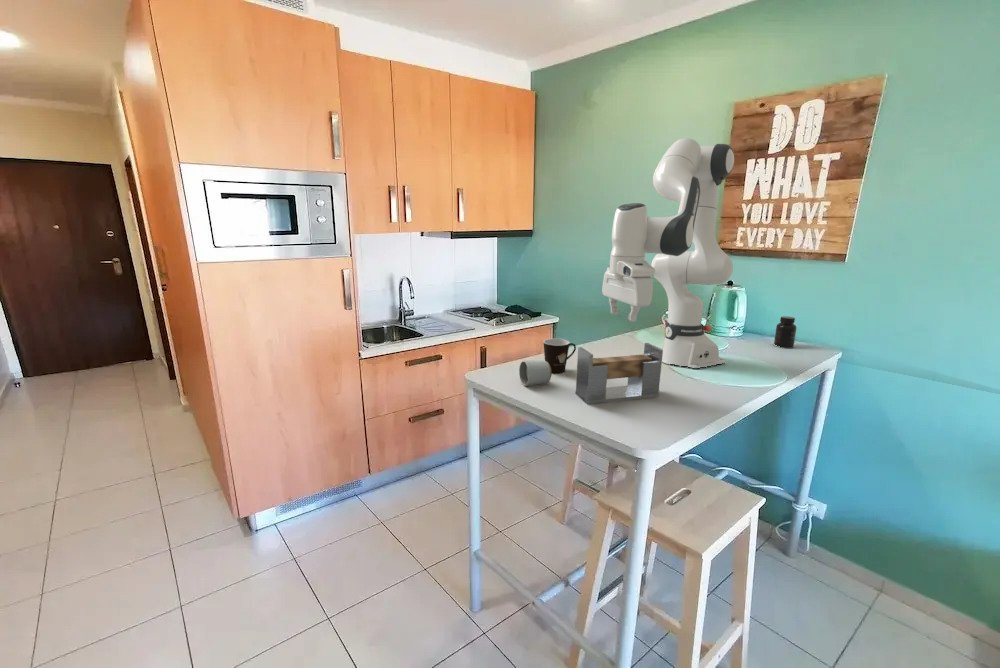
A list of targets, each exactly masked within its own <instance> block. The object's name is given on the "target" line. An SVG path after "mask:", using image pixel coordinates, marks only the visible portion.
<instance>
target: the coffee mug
mask: <svg viewBox="0 0 1000 668" xmlns="http://www.w3.org/2000/svg"><path fill="white" fill-rule="evenodd" d="M542 343H543V344H542V345H543V353H544V354H543V355H544V356H543V357H544V361H547V362H548V363H549V364H550V367H551V375H552V374H553V375H555V374H556V375H560V374H564V373H565V372H566V368H567V367H566V365H567V360H569V359H570V358H571V357H572V356H573V355H574V353H575V352H576V349H577V345H576V344H575V343H572V342H570V341H569V340H567V339H564V338H547V339H544V340H543V342H542ZM570 346H573V351H572V352H571V353H570V354H569V347H570Z"/></svg>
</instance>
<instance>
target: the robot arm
mask: <svg viewBox="0 0 1000 668" xmlns="http://www.w3.org/2000/svg"><path fill="white" fill-rule="evenodd" d="M734 165H735V155H734V150H733V148H732V147H731V146H730V144H725V143H716V144H704V145H700V144H699V143H698V141H696V140H695V139H693V138H689V137H685V138H679V139H676V141H675V142H673V143H672V144H671V145H670V146H669V147H668V149H667V150H666V151H665V152H664V154H663V156H662V157H661V159H660V160H659V162H658V164H657V166H656V167H655V170H654V173H653V177H652V183H653V187H654V189H655V191H656V192H657V194H658V195H660V196H661V197H662V198H664V199H666V200H669V201H675V202H677V203H679V207H678V211H677V214H676V215H675V214H674V215H672V216H666V217H665V216H656V217H655V216H648V210H647V205H646V204H644V203H639V202H637V203H636V202H634V203H626V204H625V203H623V204H622V205H619V206H618V207H616V210H615V212H614V217H613V222H612V230H611V243H612V248H611V251H610V257H609V259H610V260H609V265H608V267H607V268H606V271H605V272H604V274H603V279H602V288H601V292H602V295H603V296H604V297H606V298H608V303H609V306H610V314H611V315H618V314H619V311H620V307H618V306H619V305H618V302H622V303H623V304H624V303H625V304H628V305H630V309H631V310H630V312H629V313H628V314H627V320H628V321H629V322H632V323H633V322H637V320H638V319H637V318H638V315H639V313H640V311H641V308H648V307H650V305H651V303H652V298H653V292H654V291H653V290H654V280H653V277H654V278H655V279H656V280H657V281H658V282H659V283H660V285H661V286H662V287H663V289H664V290H665V292H666V293H665V294H666V296H667V302H668V303H667V305H668V307H667V308H668V311H667V320H666V321H665V327H664V341H663V345H662V348H661V349H662V350H663V355H662V363H664V364H667V365H670V364H675V365H681V366H688V367H694V368H700V367H706V366H711V365H716V364H722V363H725V364H726V360H725V359H724V358H722V357H720V356H719V355H720V353H719V347H718V344H717V343H715V342H714V341H713V340H711V338H710V337H708V336H707V335H706V334H705V331H706V332H711V330H712V326H711V325H708V324H705V325H704V324H703V323H702V321H703V313H704V312H703V311H704V302H703V300H702V299H701V298H700V297H699V296H698V295H696V294H694V293H692V292H691V291H690V290H689V289H688V284H691V285H702V286H703V285H704V286H705V285H706V286H713V285H721V284H725V283H726V282H727V281H728V280H729V279H730V278H731V276H732V274H733V271H734V264H733V261H732V259H731V258H732V257H730V255H728V254H727V253H726V252H724V251H723V250H722V248H721V246H720V245H719V243H718V240H717V239H716V218H717V211H718V203H719V202H718V201H719V186H720V185H721V184H722V183H723V181H725V180H726V179H727V178H728V177H729V176H730V174H731V173H732V170H733V168H734ZM692 244H693V245H694V250H690V251H689V249H690V248H691V246H692ZM646 254H656V255H654V257H653V258H652V261H651V264H650V263H648V261H646ZM722 365H723V364H722ZM681 366H680V367H681ZM688 367H687V368H688ZM711 367H712V366H711ZM706 368H707V367H706ZM700 369H701V368H700Z"/></svg>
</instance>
